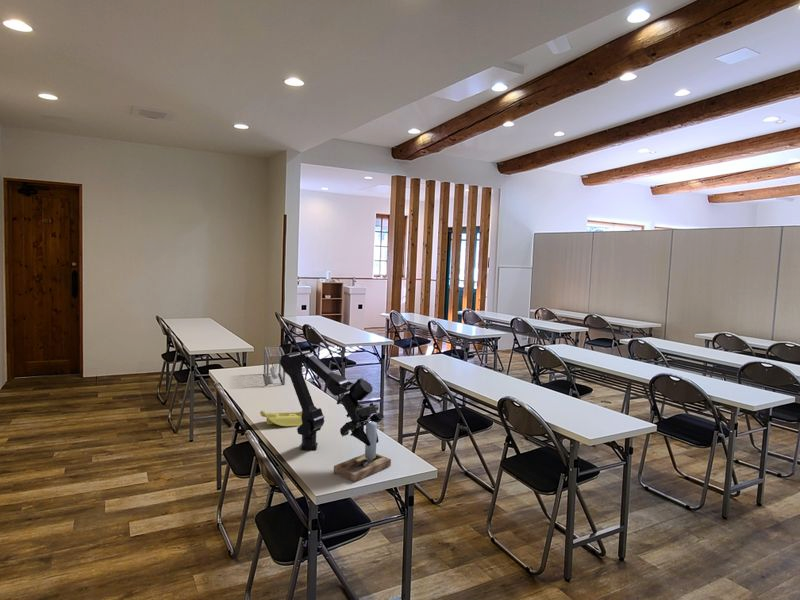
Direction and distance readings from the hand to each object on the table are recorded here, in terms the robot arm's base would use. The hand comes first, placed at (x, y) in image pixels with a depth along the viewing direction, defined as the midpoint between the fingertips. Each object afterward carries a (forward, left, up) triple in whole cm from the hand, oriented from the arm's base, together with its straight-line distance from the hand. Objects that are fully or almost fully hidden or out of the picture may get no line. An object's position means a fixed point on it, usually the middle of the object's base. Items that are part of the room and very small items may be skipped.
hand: (373, 443), depth 186 cm
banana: (-48, -39, -9) cm, 63 cm away
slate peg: (-1, -1, -9) cm, 9 cm away
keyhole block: (+2, -4, -9) cm, 10 cm away
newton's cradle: (-129, -55, -9) cm, 141 cm away
